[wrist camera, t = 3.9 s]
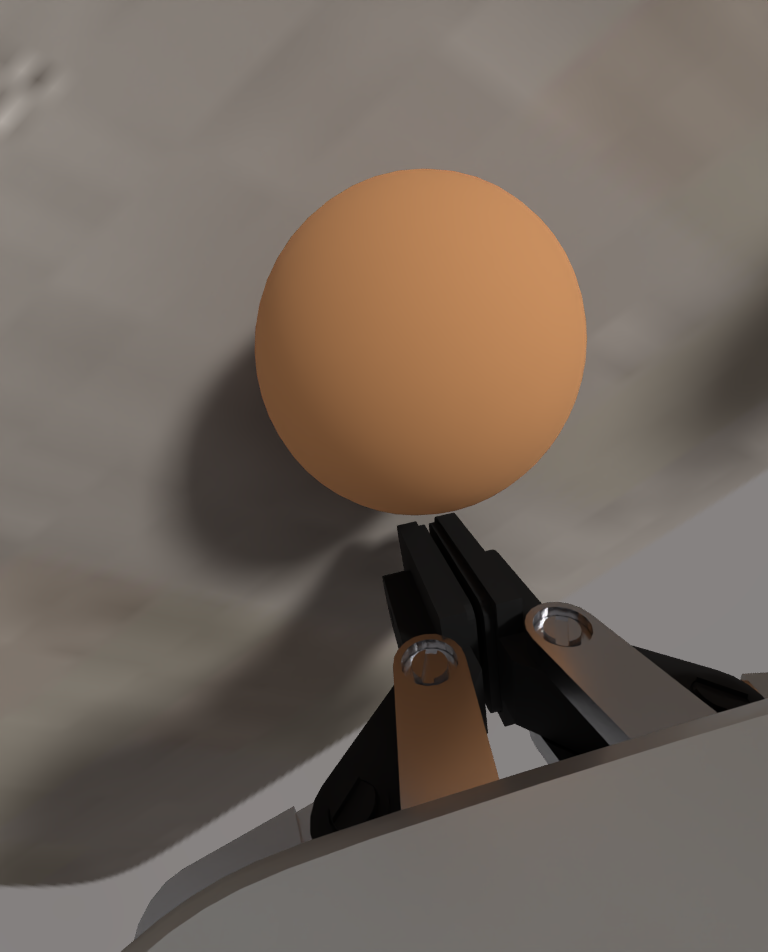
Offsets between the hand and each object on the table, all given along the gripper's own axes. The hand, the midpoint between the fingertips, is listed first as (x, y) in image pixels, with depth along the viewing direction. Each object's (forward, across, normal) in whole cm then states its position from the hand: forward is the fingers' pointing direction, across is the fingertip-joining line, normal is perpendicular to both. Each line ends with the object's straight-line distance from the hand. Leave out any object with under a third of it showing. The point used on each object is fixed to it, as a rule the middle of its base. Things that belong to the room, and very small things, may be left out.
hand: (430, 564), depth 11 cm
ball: (-2, 0, -6) cm, 6 cm away
